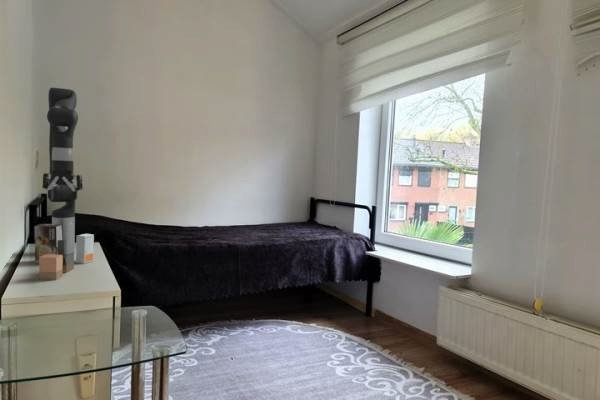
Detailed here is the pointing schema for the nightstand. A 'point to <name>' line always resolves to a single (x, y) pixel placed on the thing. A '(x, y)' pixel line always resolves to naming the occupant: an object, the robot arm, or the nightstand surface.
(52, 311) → the nightstand surface
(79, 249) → the skincare box
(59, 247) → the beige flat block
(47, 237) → the coffee box
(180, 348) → the nightstand surface
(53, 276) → the peach rectangular block
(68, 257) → the sleeve
